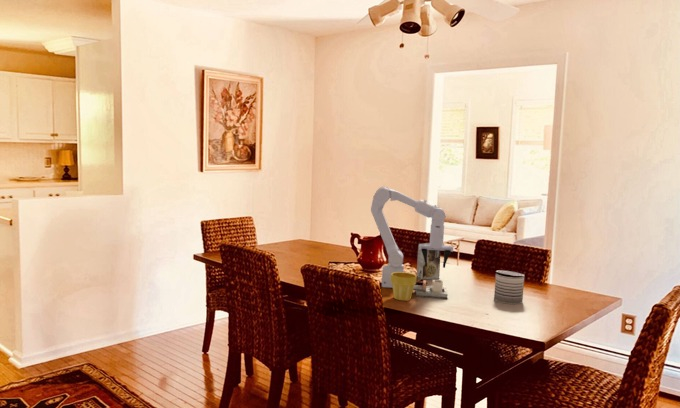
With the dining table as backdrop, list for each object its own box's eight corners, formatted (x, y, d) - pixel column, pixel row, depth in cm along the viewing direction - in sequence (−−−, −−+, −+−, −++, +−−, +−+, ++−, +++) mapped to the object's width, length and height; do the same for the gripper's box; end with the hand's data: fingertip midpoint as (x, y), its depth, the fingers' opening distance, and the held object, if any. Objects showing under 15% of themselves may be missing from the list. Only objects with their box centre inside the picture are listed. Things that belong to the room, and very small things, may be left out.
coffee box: (433, 275, 270) (435, 242, 268) (439, 279, 264) (441, 245, 262) (415, 276, 267) (417, 243, 265) (422, 279, 261) (424, 245, 259)
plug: (432, 294, 233) (433, 281, 232) (431, 292, 237) (432, 279, 236) (442, 295, 232) (442, 281, 232) (441, 292, 236) (442, 279, 235)
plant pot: (417, 296, 230) (418, 273, 229) (412, 303, 220) (413, 278, 219) (393, 293, 234) (394, 270, 233) (386, 299, 224) (388, 275, 223)
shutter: (410, 289, 233) (410, 282, 232) (410, 286, 239) (410, 279, 239) (425, 291, 232) (426, 284, 232) (425, 287, 238) (426, 280, 238)
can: (488, 297, 234) (490, 269, 232) (509, 295, 238) (511, 268, 237) (506, 305, 223) (508, 275, 222) (528, 303, 228) (531, 274, 226)
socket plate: (416, 296, 230) (416, 291, 230) (416, 290, 241) (416, 285, 241) (447, 298, 229) (447, 294, 229) (445, 292, 240) (446, 287, 239)
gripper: (420, 236, 239) (418, 267, 240) (454, 238, 237) (452, 269, 238) (419, 233, 246) (418, 264, 247) (453, 235, 244) (451, 266, 245)
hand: (434, 266), depth 243 cm, fingers open, 7 cm apart
